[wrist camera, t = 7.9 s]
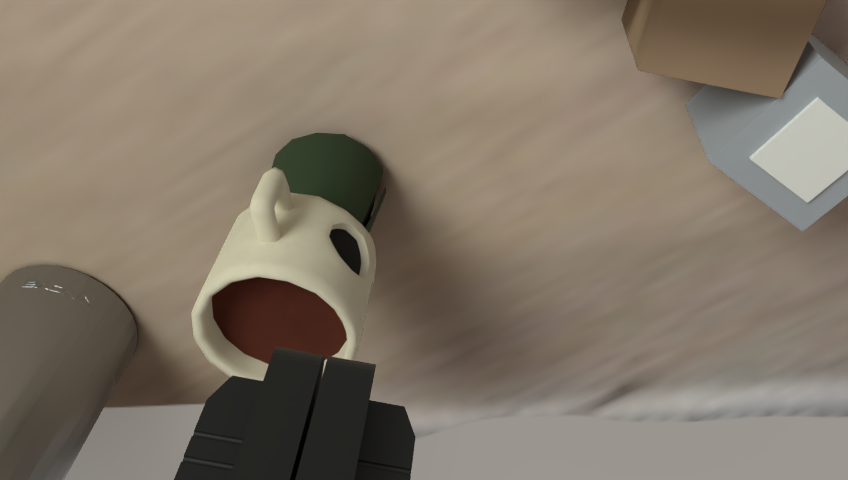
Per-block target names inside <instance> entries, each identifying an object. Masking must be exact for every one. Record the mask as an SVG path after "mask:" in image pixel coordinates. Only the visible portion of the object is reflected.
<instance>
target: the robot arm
mask: <svg viewBox="0 0 848 480" xmlns="http://www.w3.org/2000/svg"><path fill="white" fill-rule="evenodd" d="M137 341H138V335H137V327H136V324H135V321H134V319H133V316H132V314H131V313H130V311H129V310H128V308H127V307H126V305H125V304H124V303H123V302H122V301H121V299H120V298H119V297H118V296H117V295H116V294H115V293H114V292H112V291H111V290H110V289H109V288H107V287H106V286H105V285H103V284H102V283H100V282H98V281H97V280H95V279H93V278H91V277H90V276H88V275H85V274H83V273H80V272H78V271H75V270H72V269H68V268H64V267H59V266H50V265H36V266H28V267H25V268H22V269H19V270H16V271H14V272H13V273H11V274H10V275H8V276H7V277H6V278H5V279H4V280H3V281H2V282H1V284H0V480H64V479H65V477H66V475H67V473H68V471H69V470H70V468H71V466H72V464H73V462H74V460H75V459H76V457H77V455H78V453H79V452H80V450H81V448H82V446H83V444H84V442H85V441H86V439H87V437H88V435H89V433H90V431H91V430H92V428H93V426H94V424H95V422H96V420H97V419H98V417H99V415H100V413H101V411H102V410H103V408H104V406H105V404H106V402H107V400H108V399H109V397H110V396H111V394H112V392H113V390H114V388H115V386H116V384H117V383H118V381H119V379H120V377H121V375H122V373H123V372H124V370H125V368H126V366H127V364H128V362H129V360H130V359H131V357H132V355H133V353H134V351H135V349H136V345H137ZM324 359H325V356H324V355H320V354H314V353H309V352H303V351H298V350H293V349H287V348H282V347H275V349H274V351H273V354H272V356H271V359H270V362H269V365H268V368H267V371H266V374H265V377H264V380H263V381H260V380H254V379H249V378H244V377H238V376H233V375H232V376H231V377H230V378H229V379H228V380H227V381H226V382H225V383H224V384H223V385H222V386H221V387H220V388H219V389H218V390H217V391H216V392H214V393H213V394H212V395H211V396H210V397H209V398H208V399H207V401H206V403H205V406H204V408H203V411H202V413H201V415H200V418H199V420H198V423H197V425H196V428H195V430H194V435H193V436H192V437H191V440H190V442H189V445H188V447H187V449H186V452H185V454H184V459H183V462H181V464H180V466H179V469H178V471H177V474H176V476H175V479H174V480H410V474H411V468H412V460H413V451H414V443H415V435H414V432H413V429H412V427H411V424H410V421H409V418H408V415H407V412H406V410H405V407H403V406H398V405H392V404H387V403H381V402H376V401H371V400H369V399H370V393H371V388H372V383H373V378H374V372H375V367H376V365H375V364H370V363H364V362H359V361H353V360H348V359H343V358H337V357H332V356H328V358H327V361H326V365H325V369H324V372H323V368H324ZM322 375H323V376H322Z"/></svg>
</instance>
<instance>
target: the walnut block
mask: <svg viewBox="0 0 848 480" xmlns="http://www.w3.org/2000/svg"><path fill="white" fill-rule="evenodd" d="M826 2H827V0H628V1H627V4H626V7H625V10H624V13H623V16H622V19H621V20H622V23H623V26H624V29H625V32H626V35H627V38H628V41H629V44H630V47H631V50H632V53H633V57H634V60H635V63H636V66H637V69H638V71H642V72H648V73H653V74H658V75H663V76H668V77H673V78H678V79H683V80H688V81H693V82H698V83H703V84H708V85H713V86H718V87H723V88H729V89H734V90H739V91H744V92H749V93H754V94H759V95H764V96H769V97H774V98H779V99H781V96H782V94H783V92H784V90H785V88H786V86H787V84H788V82H789V80H790V78H791V75H792V73H793V71H794V69H795V67H796V65H797V63H798V61H799V59H800V56H801V54H802V52H803V50H804V48H805V46H806V44H807V42H808V40H809V38H810V35H811V33H812V31H813V29H814V27H815V25H816V23H817V21H818V19H819V16H820V14H821V12H822V10H823V8H824V6H825V4H826Z"/></svg>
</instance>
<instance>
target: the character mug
mask: <svg viewBox="0 0 848 480" xmlns="http://www.w3.org/2000/svg"><path fill="white" fill-rule="evenodd" d="M382 174H383V169H382V166H381V165H380V163H379V162H378V161H377V159H376V158H375V157H374V155H373V154H372V153H371V152H370V150H369V149H368V148H367V147H365V146H364V145H362V144H360V143H358V142H357V141H355V140H353V139H351V138H350V137H348V136H346V135H344V134H328V133H314V134H311V135H307V136H304V137H300V138H296V139H293V140H291V141H290V142H289V143H288V144H287V145H286V146H285V147H283V148H282V149H281V150H280V151H279V152H278V153H277V154H276V156H275V159H274V163H273V166H272V169H271V170H269V171H267V172H266V173H264V174H263V176H262V178H261V180H260V182H259V184H258V187H257V189H256V191H255V193H254V195H253V197H252V200H251V204H250V207H249V208H247V209H246V210H244V211H243V212H242V213H241V214H240V215H239V216H238V217H237V219H236V221H235V223H234V225H233V227H232V229H231V231H230V233H229V235H228V237H227V239H226V241H225V243H224V245H223V247H222V249H221V251H220V253H219V255H218V257H217V259H216V261H215V263H214V265H213V267H212V269H211V271H210V273H209V275H208V277H207V279H206V282H205V284H204V286H203V288H202V290H201V292H200V294H199V296H198V299H197V301H196V303H195V305H194V308H193V310H192V313H191V315H192V325H193V335H194V339H195V341H196V342H197V344H198V345H199V347H200V349H201V350H202V352H203V353H204V355H205V357H206V358H207V360H208V361H209V362H210V363H212V364H213V365H214V366H215V367H217V368H218V369H219V370H220V371H222V372H223V373H224V374H226V375H227V376H228V377H229V378H230V377H231V376H232V375H233V376H238V377H244V378H249V379H254V380H260V381H263V380H264V377H265V374H266V371H267V368H268V365H269V362H270V359H271V356H272V354H273V351H274V349H275V347H282V348H287V349H293V350H298V351H303V352H309V353H314V354H320V355H324V356H325V359H324V368H323V372H324V369H325V365H326V361H327V358H328V356H332V357H337V358H343V359H348V360H353V361H355V358H356V354H357V351H358V346H359V342H360V338H361V335H362V332H363V330H364V324H365V318H366V311H367V307H368V302H369V295H370V290H371V289H372V287H373V285H374V278H375V272H376V265H377V264H376V249H375V245H374V242H373V239H372V237H371V236H370V234H369V232H370V230H371V227H372V225H373V222H374V220H375V218H376V215H377V213H378V210H379V208H380V206H381V203H382V201H383V198H384V196H385V194H386V189H384V191H383V193H382V196H381V198H380V200H379V203H378V205H377V207H376V209H375V211H374V213H373V215H372V216H371V213H372V210H373V206H374V200H375V195H376V190H377V188H378V185H379V182H380V179H381V177H382ZM370 216H371V217H370ZM322 376H323V375H322Z"/></svg>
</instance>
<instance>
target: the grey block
mask: <svg viewBox="0 0 848 480" xmlns="http://www.w3.org/2000/svg"><path fill="white" fill-rule="evenodd" d="M685 105H686V107H687V110H688V112H689V115H690V117H691V120H692V122H693V124H694V127H695V129H696V132H697V134H698V137H699V139H700V142H701V144H702V147H703V149H704V151H705V154H706V156H707V159H708V161H709V162H710V163H711V164H713V165H714V166H715V167H717V168H718V169H719V170H721V171H722V172H723V173H725V174H726V175H727V176H729V177H730V178H731V179H733V180H734V181H735V182H737V183H738V184H739V185H741V186H742V187H743V188H745V189H746V190H747V191H749V192H750V193H752V194H753V195H754V196H756V197H757V198H758V199H760V200H761V201H762V202H764V203H765V204H766V205H768V206H769V207H770V208H772V209H773V210H774V211H776V212H777V213H778V214H780V215H781V216H782V217H784V218H785V219H786V220H788V221H789V222H790V223H792V224H793V225H794V226H796V227H797V228H798V229H800V230H801V231H802V232H803V231H804V230H805V229H806V228H808V227H809V226H810V225H812V224H813V223H814V222H815V221H817V220H818V219H819V218H820V217H822V216H823V215H824V214H825V213H827V212H828V211H829V210H831V209H832V208H833V207H834V206H836V205H837V204H838V203H839V202H841V201H842V200H843V199H844V198H846V197H847V196H848V64H847V63H845V62H844V61H843V60H842V59H841V58H840V57H838V56H837V55H836V54H835V53H834V52H832V51H831V50H830V49H829V48H828V47H827V46H825V45H824V44H823V43H822V42H821V41H820V40H818V39H817V38H816V37H815V36H814V35H812V34H811V35H810V38H809V40H808V42H807V44H806V46H805V48H804V50H803V52H802V54H801V56H800V59H799V61H798V63H797V65H796V67H795V69H794V71H793V73H792V75H791V78H790V80H789V82H788V84H787V86H786V88H785V90H784V92H783V94H782V96H781V99H779V98H774V97H769V96H764V95H759V94H754V93H749V92H744V91H739V90H734V89H729V88H723V87H718V86H713V85H708V84H705V85H704V86H703V87H702V88H701V89H700V90H699V91H698V92H697V93H696V94H695V95H694V96H693V97H692V98H691V99H690V100H689V101H688V102H687V103H686V104H685Z"/></svg>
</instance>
